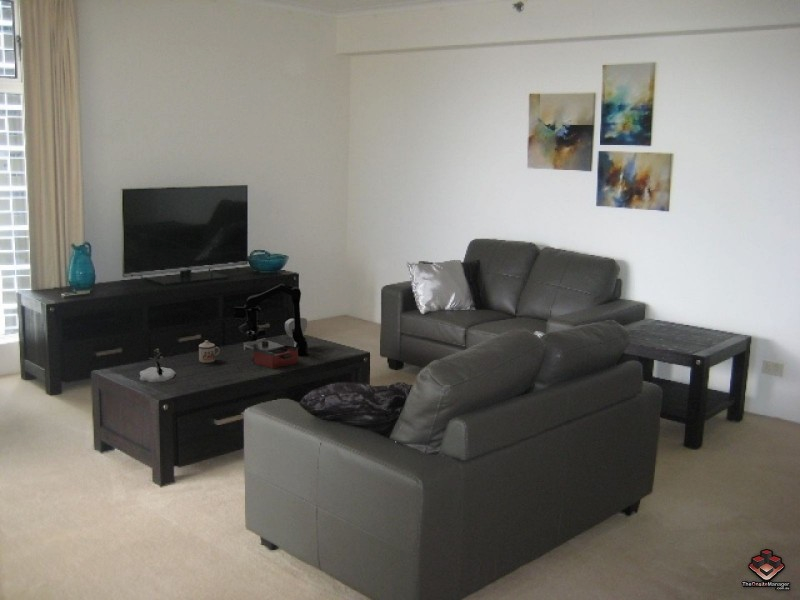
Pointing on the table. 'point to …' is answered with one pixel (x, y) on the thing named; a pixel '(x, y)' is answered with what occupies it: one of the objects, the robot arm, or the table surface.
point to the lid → (262, 345)
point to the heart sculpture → (290, 325)
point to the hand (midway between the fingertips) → (252, 344)
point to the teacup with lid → (207, 352)
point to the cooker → (276, 356)
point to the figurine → (157, 371)
